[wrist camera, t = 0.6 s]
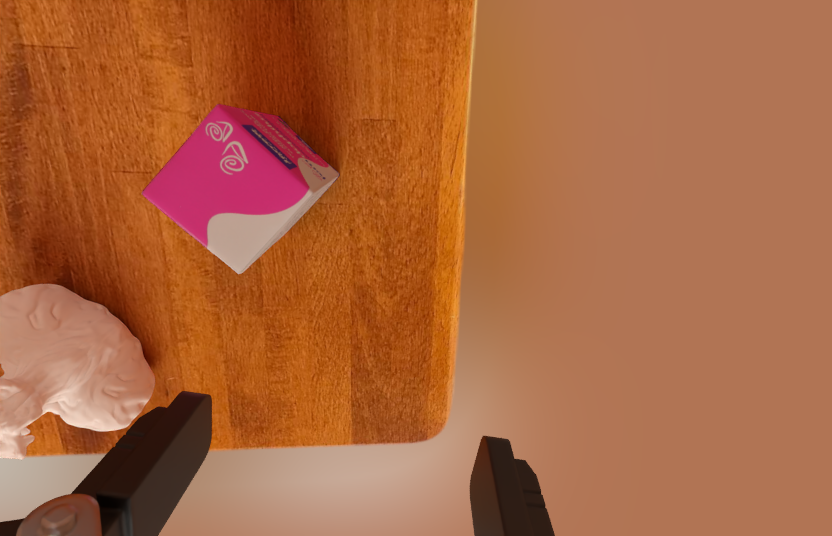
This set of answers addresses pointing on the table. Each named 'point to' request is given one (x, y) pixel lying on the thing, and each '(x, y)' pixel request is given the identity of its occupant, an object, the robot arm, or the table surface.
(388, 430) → the table surface
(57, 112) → the table surface
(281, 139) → the supplement box
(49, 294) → the pink lumpy shape
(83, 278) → the table surface
